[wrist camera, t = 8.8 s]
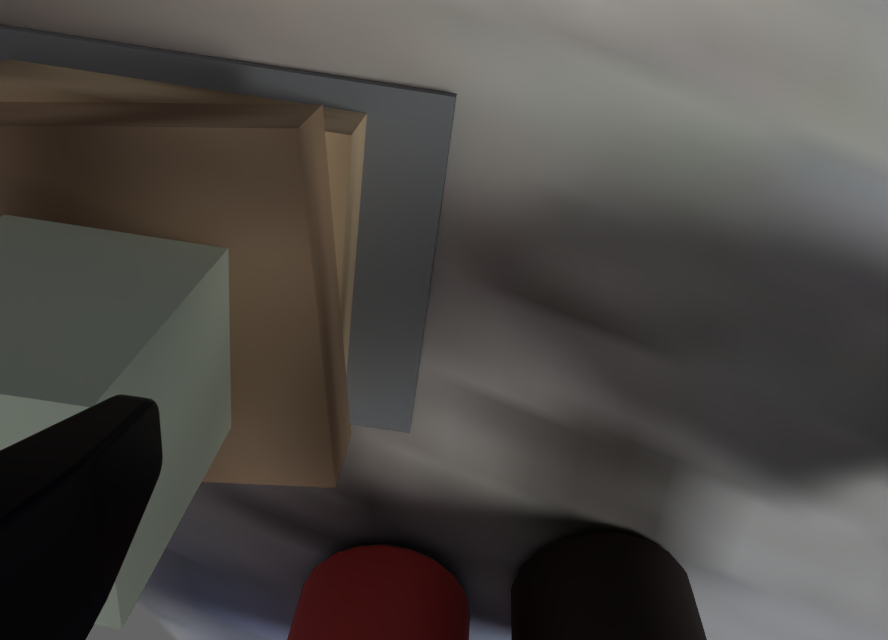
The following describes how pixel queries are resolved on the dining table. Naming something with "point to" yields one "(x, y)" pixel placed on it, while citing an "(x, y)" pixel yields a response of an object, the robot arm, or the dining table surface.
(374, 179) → the mat
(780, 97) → the dining table surface
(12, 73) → the slab bottom
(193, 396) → the sage block
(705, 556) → the dining table surface
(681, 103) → the dining table surface
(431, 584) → the beer can
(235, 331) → the slab top
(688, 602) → the bottle
